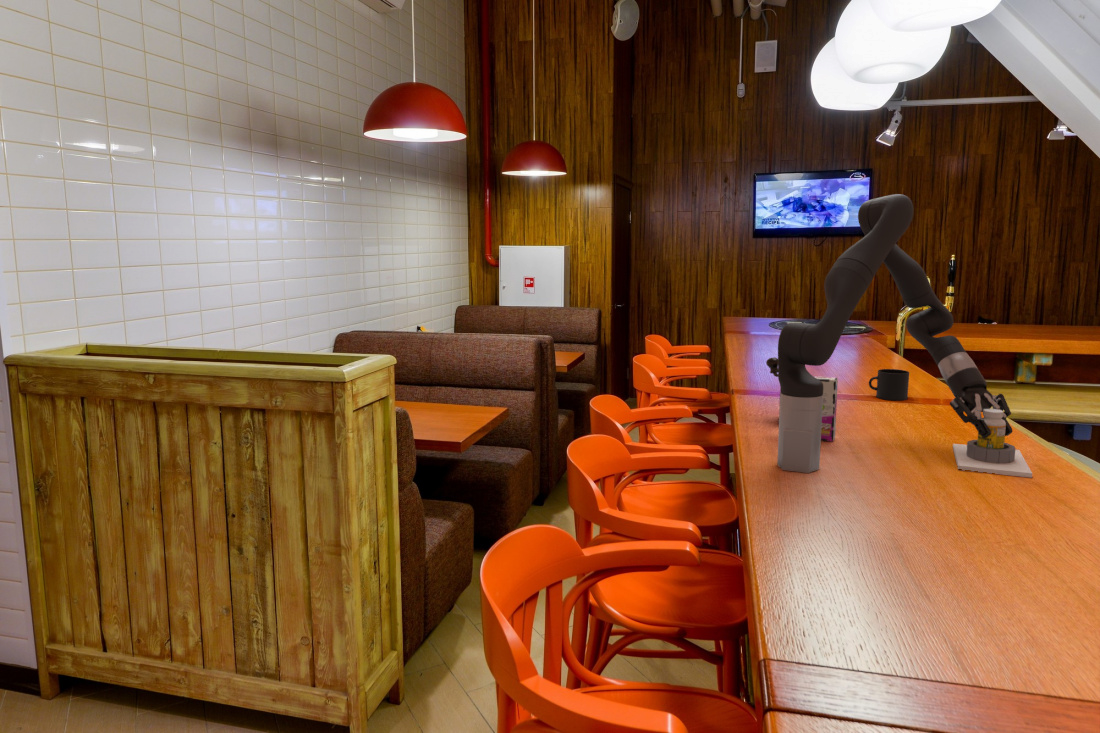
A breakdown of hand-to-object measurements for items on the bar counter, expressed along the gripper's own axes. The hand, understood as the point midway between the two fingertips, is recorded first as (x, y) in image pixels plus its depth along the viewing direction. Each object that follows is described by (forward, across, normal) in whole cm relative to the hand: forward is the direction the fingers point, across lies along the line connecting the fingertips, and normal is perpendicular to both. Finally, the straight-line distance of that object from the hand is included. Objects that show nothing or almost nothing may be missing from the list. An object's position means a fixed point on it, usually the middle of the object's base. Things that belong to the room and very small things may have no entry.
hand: (998, 434), depth 165 cm
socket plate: (+4, 0, +6) cm, 7 cm away
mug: (-44, +27, +54) cm, 75 cm away
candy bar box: (-17, -27, +28) cm, 42 cm away
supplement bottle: (+2, 0, +4) cm, 5 cm away
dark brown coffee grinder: (-30, -22, +41) cm, 55 cm away
